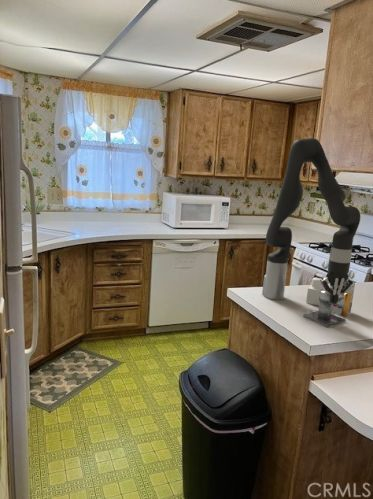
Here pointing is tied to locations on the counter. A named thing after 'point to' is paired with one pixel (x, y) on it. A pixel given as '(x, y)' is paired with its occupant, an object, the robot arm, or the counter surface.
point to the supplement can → (336, 308)
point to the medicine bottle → (314, 291)
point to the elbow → (342, 301)
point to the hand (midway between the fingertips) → (333, 303)
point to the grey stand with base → (324, 316)
